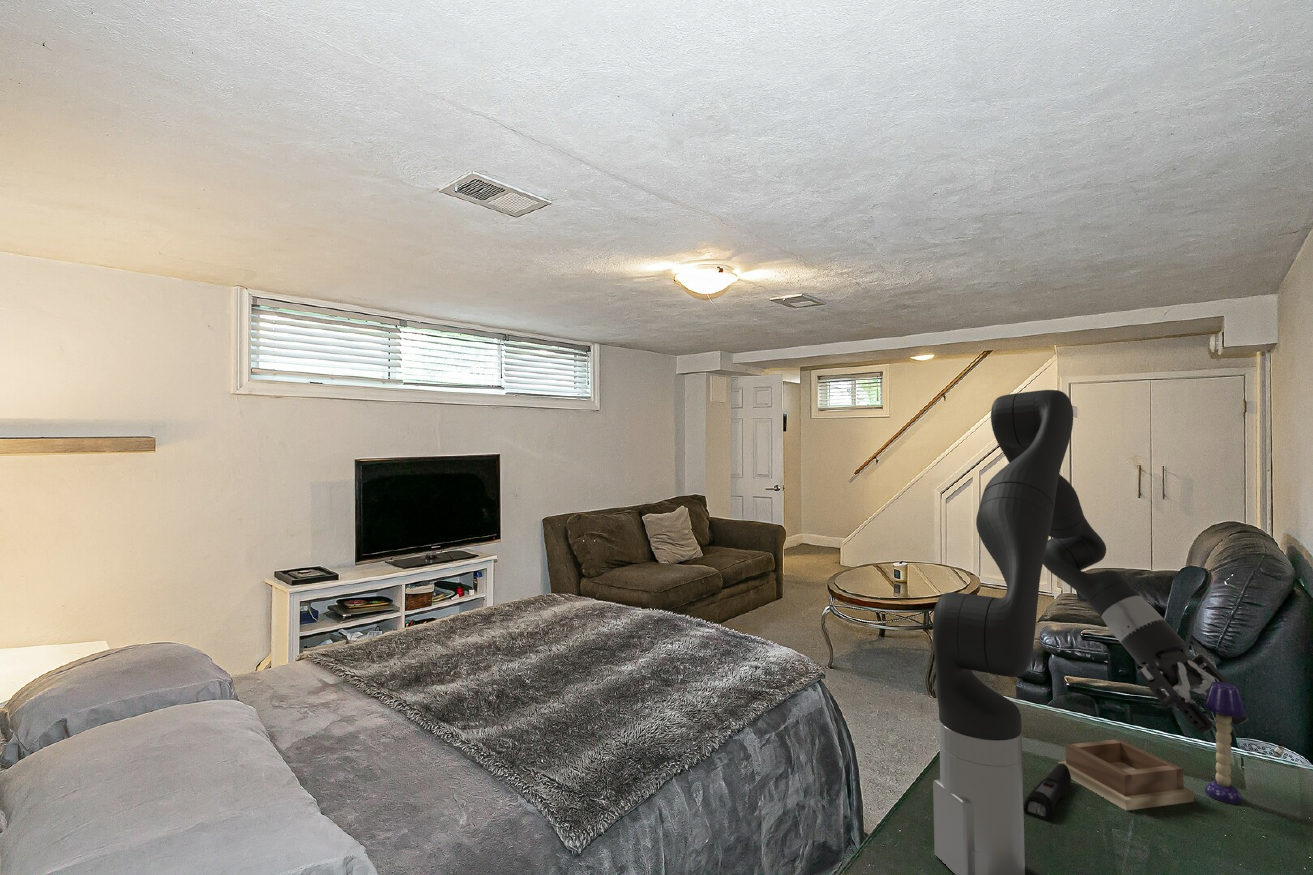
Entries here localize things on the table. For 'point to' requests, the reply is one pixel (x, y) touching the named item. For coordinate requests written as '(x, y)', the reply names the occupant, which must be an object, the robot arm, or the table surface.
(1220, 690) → the toy lamp
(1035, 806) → the electric trimmer
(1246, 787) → the table surface
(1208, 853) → the table surface
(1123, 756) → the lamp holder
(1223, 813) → the table surface
